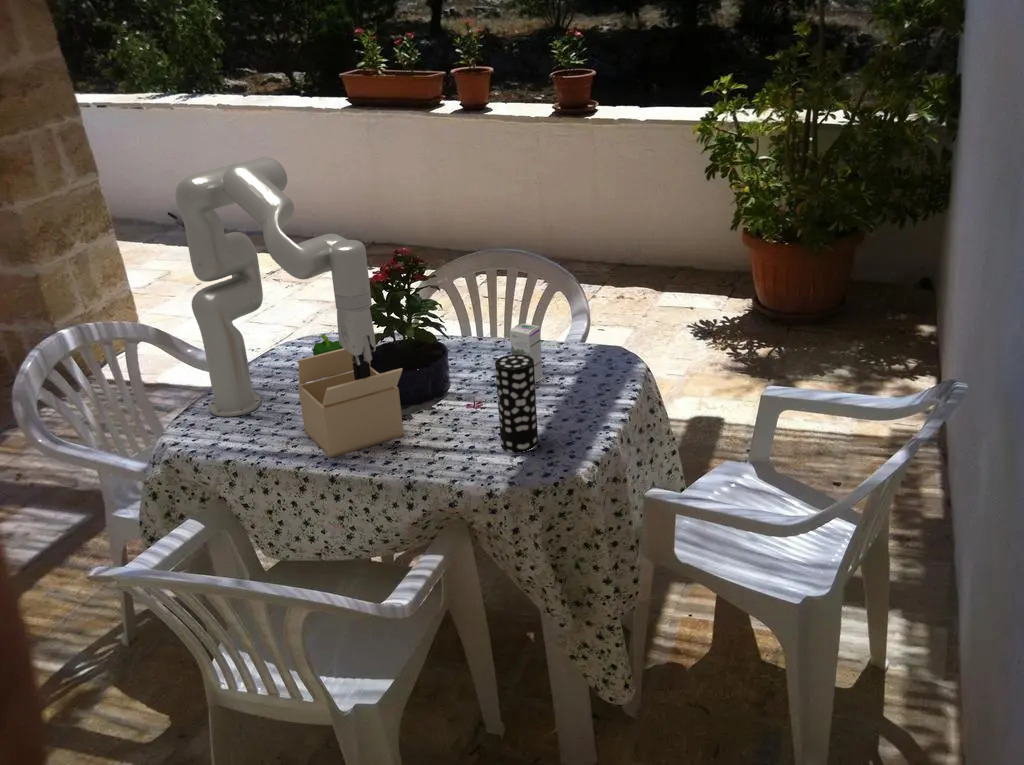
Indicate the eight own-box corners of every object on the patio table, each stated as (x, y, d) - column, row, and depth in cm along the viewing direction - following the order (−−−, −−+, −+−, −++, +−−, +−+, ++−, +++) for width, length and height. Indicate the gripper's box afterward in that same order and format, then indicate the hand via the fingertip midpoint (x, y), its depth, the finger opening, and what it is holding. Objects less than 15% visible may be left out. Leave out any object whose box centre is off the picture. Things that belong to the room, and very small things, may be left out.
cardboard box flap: (395, 384, 236) (396, 386, 235) (322, 404, 228) (323, 406, 228) (401, 367, 230) (402, 369, 230) (326, 388, 222) (327, 390, 222)
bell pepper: (348, 375, 275) (343, 339, 271) (317, 379, 274) (311, 344, 270) (345, 363, 283) (341, 329, 279) (315, 367, 281) (310, 333, 277)
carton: (305, 432, 245) (297, 385, 240) (375, 412, 253) (369, 366, 248) (330, 458, 232) (323, 409, 227) (403, 435, 240) (398, 388, 235)
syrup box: (543, 378, 266) (541, 325, 260) (531, 387, 261) (528, 332, 255) (524, 374, 269) (521, 321, 263) (512, 383, 264) (509, 329, 258)
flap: (299, 384, 239) (298, 383, 240) (370, 365, 247) (369, 364, 248) (299, 361, 235) (298, 359, 235) (371, 342, 243) (370, 341, 243)
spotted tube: (525, 456, 227) (520, 371, 219) (493, 448, 232) (487, 365, 224) (545, 440, 234) (540, 358, 226) (513, 433, 238) (508, 352, 230)
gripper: (323, 294, 224) (333, 372, 232) (350, 313, 212) (360, 395, 220) (355, 286, 228) (365, 364, 235) (384, 305, 216) (393, 386, 223)
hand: (362, 379), depth 227 cm, fingers closed
